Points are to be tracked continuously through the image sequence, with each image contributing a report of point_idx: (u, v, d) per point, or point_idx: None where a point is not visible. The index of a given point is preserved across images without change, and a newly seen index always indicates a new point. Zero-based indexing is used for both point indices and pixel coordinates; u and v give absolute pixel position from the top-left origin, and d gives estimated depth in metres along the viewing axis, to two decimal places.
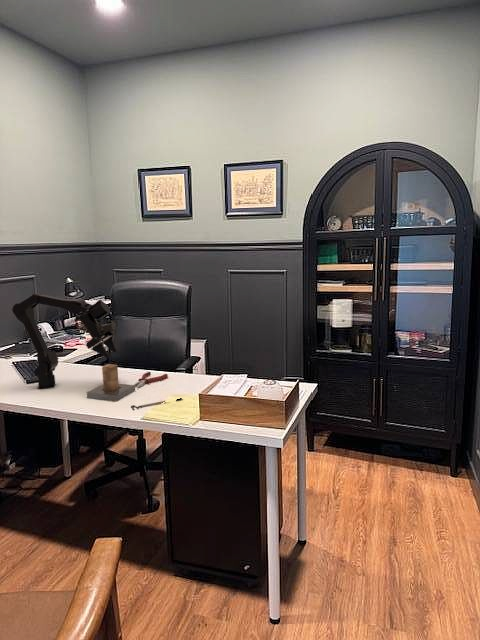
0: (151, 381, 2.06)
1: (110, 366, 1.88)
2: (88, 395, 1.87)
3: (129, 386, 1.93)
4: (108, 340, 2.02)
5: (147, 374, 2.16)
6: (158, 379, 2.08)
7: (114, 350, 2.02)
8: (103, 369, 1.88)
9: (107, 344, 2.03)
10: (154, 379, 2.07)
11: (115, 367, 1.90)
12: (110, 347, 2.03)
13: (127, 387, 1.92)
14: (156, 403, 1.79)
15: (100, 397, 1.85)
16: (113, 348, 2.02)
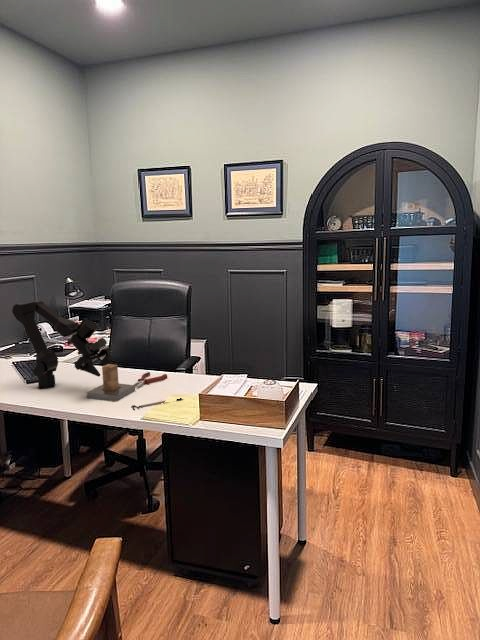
0: (150, 381, 2.06)
1: (110, 366, 1.88)
2: (88, 395, 1.87)
3: (129, 386, 1.93)
4: (104, 359, 1.96)
5: (146, 374, 2.15)
6: (157, 379, 2.08)
7: None
8: (103, 369, 1.88)
9: (104, 363, 1.96)
10: (153, 379, 2.07)
11: (115, 367, 1.90)
12: None
13: (127, 387, 1.92)
14: (156, 403, 1.79)
15: (100, 397, 1.85)
16: None
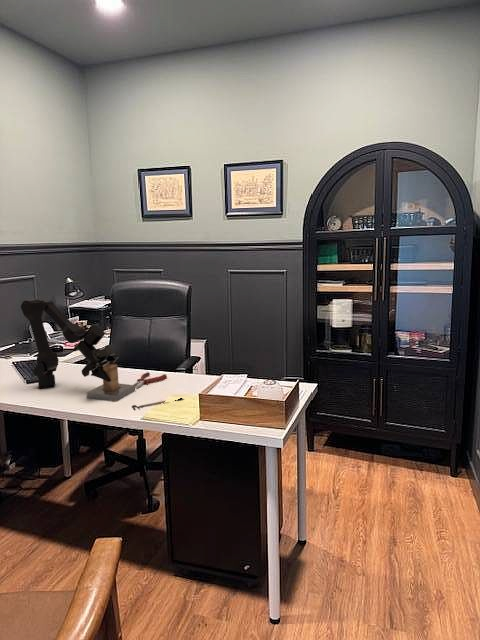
0: (150, 381, 2.06)
1: (110, 366, 1.88)
2: (88, 395, 1.87)
3: (129, 386, 1.93)
4: None
5: (146, 375, 2.15)
6: (157, 379, 2.08)
7: None
8: (103, 369, 1.88)
9: None
10: (153, 379, 2.06)
11: (115, 367, 1.90)
12: None
13: (127, 387, 1.92)
14: (157, 403, 1.79)
15: (100, 397, 1.85)
16: None
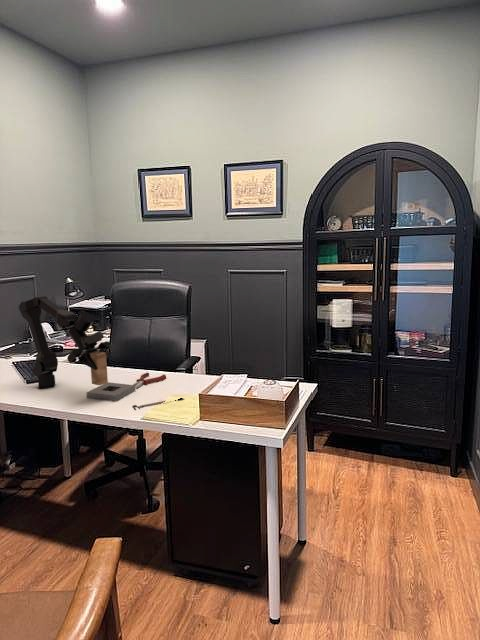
0: (149, 382, 2.05)
1: (97, 354, 1.81)
2: (88, 395, 1.87)
3: (129, 386, 1.93)
4: None
5: (145, 375, 2.15)
6: (156, 380, 2.07)
7: None
8: (90, 356, 1.82)
9: None
10: (152, 380, 2.06)
11: (103, 355, 1.82)
12: None
13: (127, 387, 1.92)
14: (157, 403, 1.79)
15: (100, 397, 1.85)
16: None
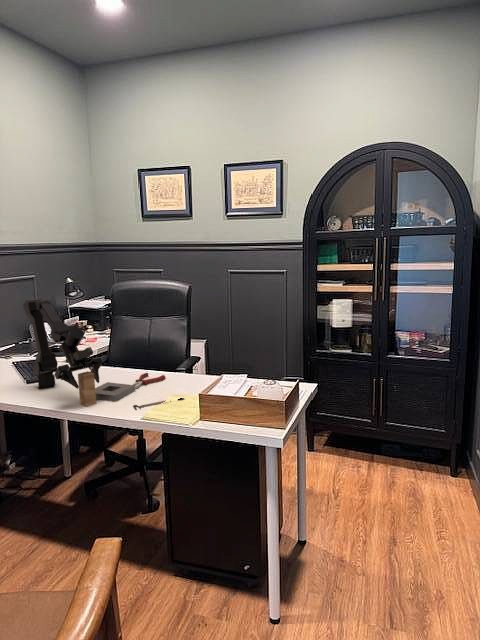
0: (148, 382, 2.05)
1: (85, 374, 1.77)
2: None
3: (129, 386, 1.93)
4: (93, 369, 1.84)
5: (145, 375, 2.14)
6: (155, 380, 2.07)
7: (97, 380, 1.82)
8: (78, 376, 1.78)
9: None
10: (151, 380, 2.05)
11: (90, 375, 1.78)
12: (94, 377, 1.83)
13: (127, 387, 1.92)
14: (158, 402, 1.79)
15: (100, 397, 1.85)
16: (96, 378, 1.82)
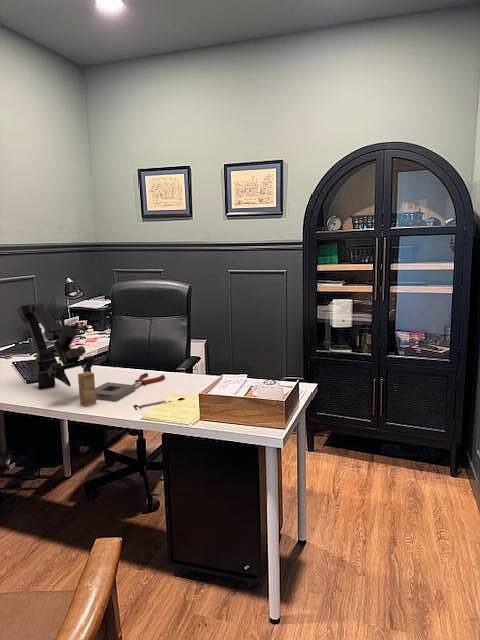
0: (148, 382, 2.05)
1: (85, 374, 1.77)
2: None
3: (129, 386, 1.93)
4: (85, 367, 1.88)
5: (144, 375, 2.14)
6: (155, 380, 2.07)
7: None
8: (78, 377, 1.78)
9: None
10: (151, 380, 2.05)
11: (90, 376, 1.78)
12: None
13: (127, 387, 1.92)
14: (158, 402, 1.80)
15: (100, 397, 1.85)
16: None
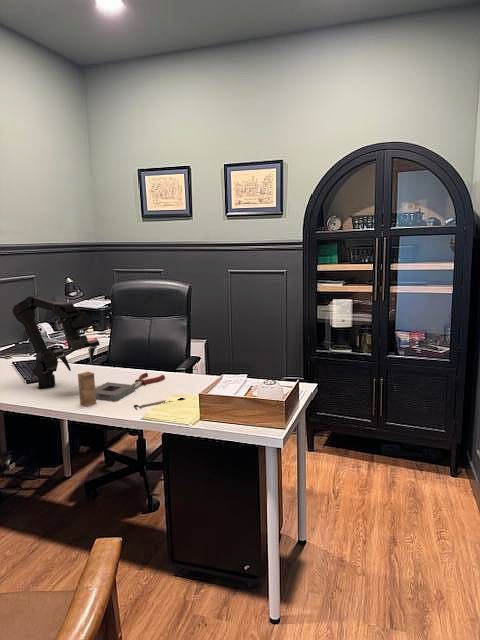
0: (148, 382, 2.05)
1: (85, 374, 1.77)
2: None
3: (129, 386, 1.93)
4: (89, 350, 1.94)
5: (144, 375, 2.14)
6: (155, 380, 2.07)
7: (91, 362, 1.94)
8: (78, 377, 1.78)
9: (89, 353, 1.96)
10: (151, 380, 2.05)
11: (90, 376, 1.78)
12: (90, 357, 1.95)
13: (127, 387, 1.92)
14: (159, 402, 1.80)
15: (100, 397, 1.85)
16: (90, 360, 1.94)
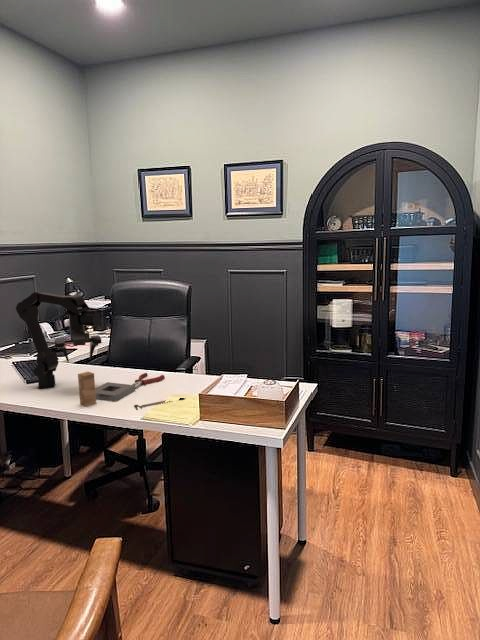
0: (147, 382, 2.05)
1: (85, 374, 1.77)
2: None
3: (129, 386, 1.93)
4: (90, 345, 1.97)
5: (144, 375, 2.14)
6: (155, 380, 2.07)
7: None
8: (78, 377, 1.78)
9: (90, 348, 1.98)
10: (150, 380, 2.06)
11: (90, 376, 1.78)
12: None
13: (127, 387, 1.92)
14: (159, 402, 1.80)
15: (100, 397, 1.85)
16: None
